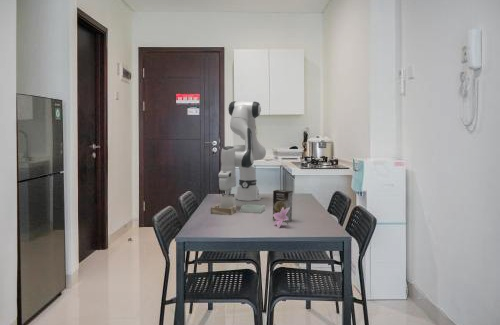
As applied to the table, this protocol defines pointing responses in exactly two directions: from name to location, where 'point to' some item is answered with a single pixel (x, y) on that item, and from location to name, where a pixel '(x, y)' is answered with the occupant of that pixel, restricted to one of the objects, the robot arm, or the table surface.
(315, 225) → the table surface
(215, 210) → the bay
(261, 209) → the tray
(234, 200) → the white block
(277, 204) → the coffee box
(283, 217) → the lily
